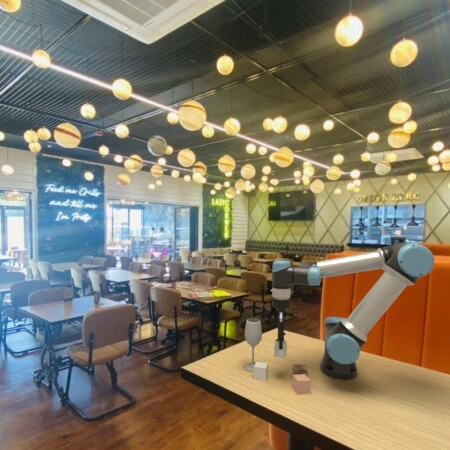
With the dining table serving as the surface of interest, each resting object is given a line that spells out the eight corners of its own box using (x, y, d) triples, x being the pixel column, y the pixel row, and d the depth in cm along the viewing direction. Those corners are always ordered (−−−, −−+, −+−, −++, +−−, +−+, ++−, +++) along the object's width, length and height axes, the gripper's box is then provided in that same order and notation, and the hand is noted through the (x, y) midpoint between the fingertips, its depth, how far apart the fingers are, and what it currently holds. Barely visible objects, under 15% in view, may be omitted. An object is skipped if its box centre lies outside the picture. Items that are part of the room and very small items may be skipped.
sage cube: (286, 352, 129) (286, 341, 129) (286, 357, 124) (286, 345, 124) (274, 351, 130) (274, 340, 130) (274, 356, 125) (274, 344, 125)
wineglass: (260, 372, 130) (261, 323, 130) (243, 370, 132) (243, 322, 132) (262, 364, 138) (262, 318, 138) (245, 363, 139) (246, 317, 139)
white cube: (267, 375, 128) (267, 363, 128) (265, 380, 123) (265, 368, 123) (256, 373, 130) (256, 361, 130) (253, 378, 125) (253, 366, 125)
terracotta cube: (304, 386, 119) (304, 374, 119) (310, 393, 114) (310, 380, 114) (292, 387, 118) (292, 374, 118) (297, 394, 113) (297, 381, 113)
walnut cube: (304, 376, 127) (304, 364, 128) (307, 382, 122) (307, 370, 123) (292, 376, 128) (292, 364, 128) (295, 382, 123) (295, 369, 123)
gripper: (272, 293, 137) (272, 345, 136) (271, 302, 119) (270, 362, 118) (289, 293, 135) (289, 346, 135) (290, 303, 117) (290, 363, 117)
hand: (280, 353), depth 127 cm, fingers closed on sage cube, 5 cm apart
